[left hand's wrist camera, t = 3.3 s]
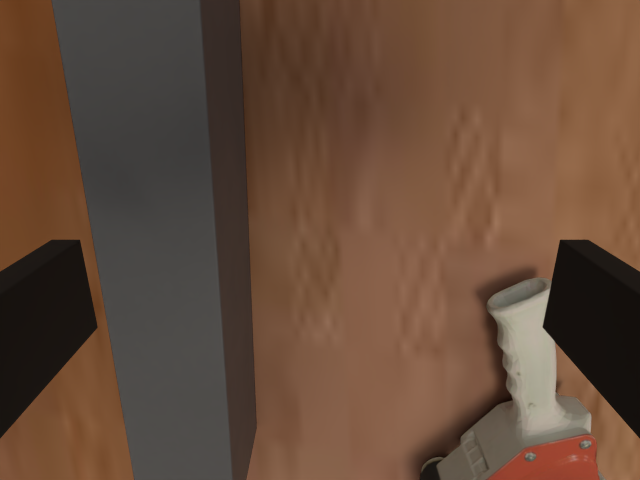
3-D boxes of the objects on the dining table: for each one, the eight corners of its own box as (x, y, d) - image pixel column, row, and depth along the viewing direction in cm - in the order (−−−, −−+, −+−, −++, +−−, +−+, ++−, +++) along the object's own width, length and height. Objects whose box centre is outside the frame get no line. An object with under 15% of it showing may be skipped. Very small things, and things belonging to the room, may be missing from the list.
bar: (134, -6, 24) (42, -44, 16) (239, -4, 23) (197, -41, 16) (183, 426, 34) (142, 528, 26) (256, 428, 34) (236, 531, 26)
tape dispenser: (506, 249, 30) (341, 455, 34) (543, 277, 25) (342, 514, 29) (699, 377, 32) (518, 553, 37) (769, 427, 27) (548, 624, 32)
